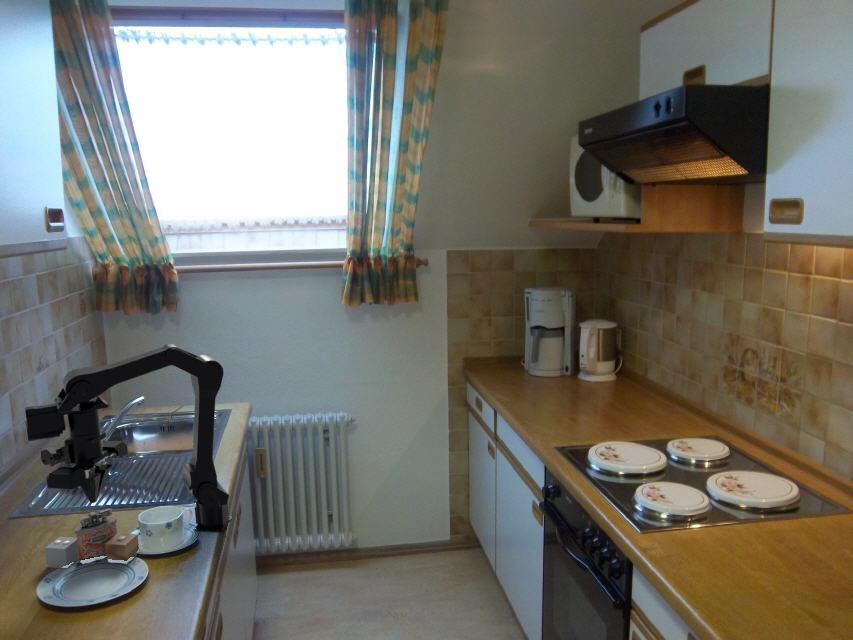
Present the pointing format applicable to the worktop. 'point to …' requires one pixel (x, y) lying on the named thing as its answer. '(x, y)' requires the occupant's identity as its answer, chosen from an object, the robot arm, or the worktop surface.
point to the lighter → (95, 534)
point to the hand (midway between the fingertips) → (93, 502)
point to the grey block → (62, 552)
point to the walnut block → (122, 546)
